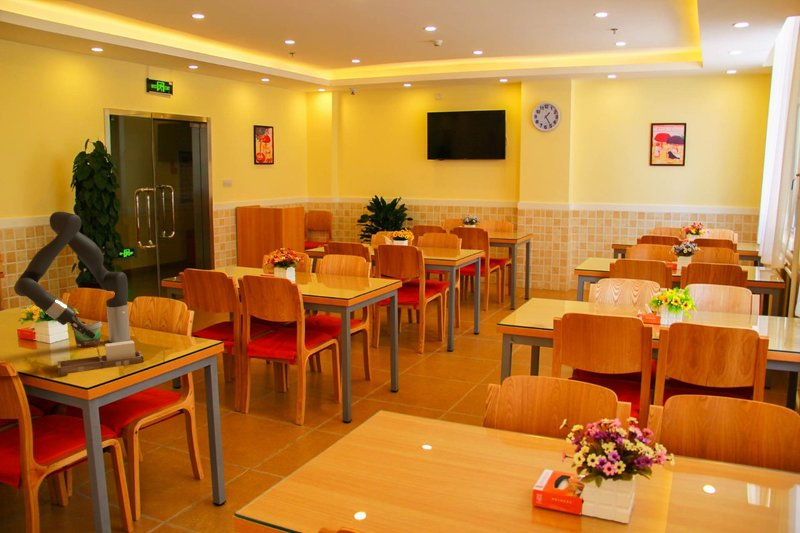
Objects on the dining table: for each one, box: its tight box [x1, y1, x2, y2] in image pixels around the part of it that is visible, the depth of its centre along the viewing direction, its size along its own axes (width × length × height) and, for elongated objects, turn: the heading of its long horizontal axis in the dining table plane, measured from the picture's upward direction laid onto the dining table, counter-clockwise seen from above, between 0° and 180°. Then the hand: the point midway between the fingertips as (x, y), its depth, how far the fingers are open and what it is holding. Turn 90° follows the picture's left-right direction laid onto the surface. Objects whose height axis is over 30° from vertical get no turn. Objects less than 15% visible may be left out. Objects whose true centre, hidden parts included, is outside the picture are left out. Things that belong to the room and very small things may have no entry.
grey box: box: [104, 340, 136, 361], centre depth 287 cm, size 5×11×8 cm, turn 117°
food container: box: [71, 319, 103, 349], centre depth 291 cm, size 12×6×10 cm, turn 137°
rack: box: [57, 350, 145, 377], centre depth 284 cm, size 11×32×4 cm, turn 117°
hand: (93, 334), depth 292 cm, fingers closed on food container, 7 cm apart
